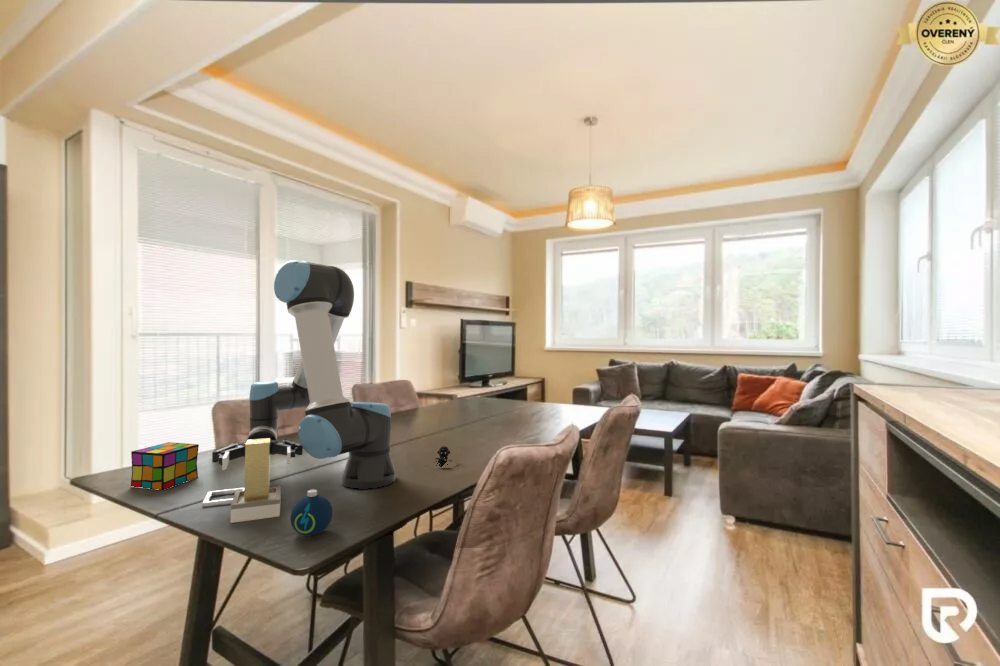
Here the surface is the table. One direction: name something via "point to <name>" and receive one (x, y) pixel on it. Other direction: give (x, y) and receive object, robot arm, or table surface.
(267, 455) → the block
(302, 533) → the christmas ornament
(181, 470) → the toy
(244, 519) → the white square tray
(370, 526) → the table surface
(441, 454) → the toy figurine
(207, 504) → the jamb socket
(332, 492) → the table surface
